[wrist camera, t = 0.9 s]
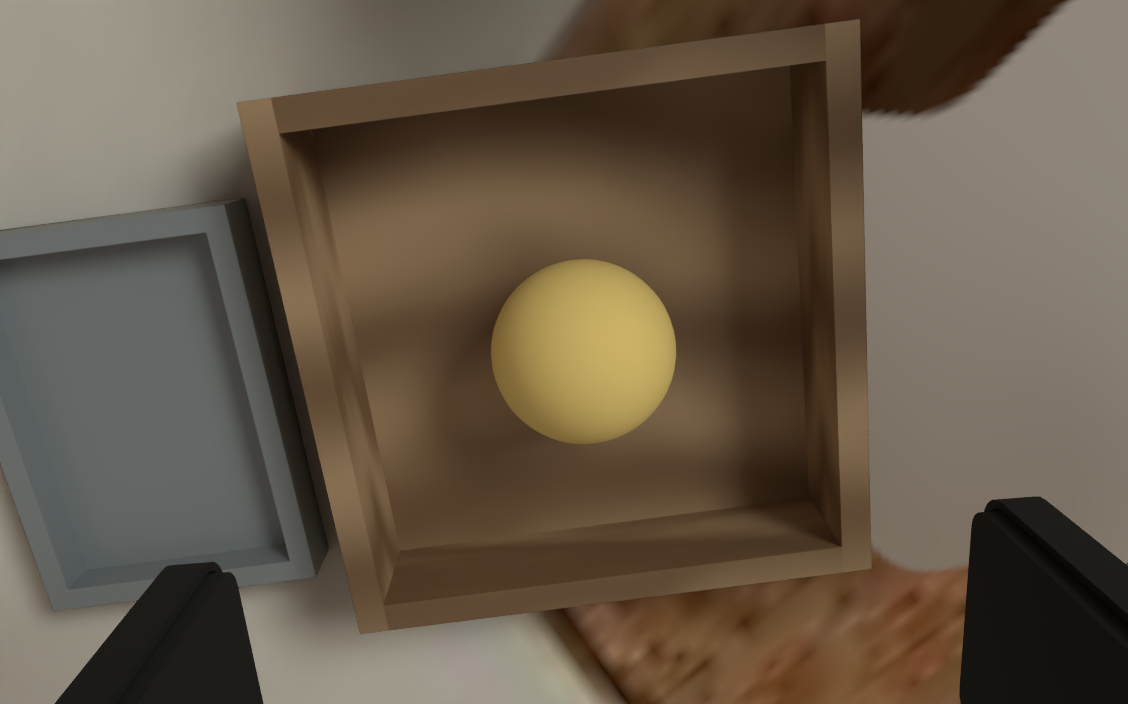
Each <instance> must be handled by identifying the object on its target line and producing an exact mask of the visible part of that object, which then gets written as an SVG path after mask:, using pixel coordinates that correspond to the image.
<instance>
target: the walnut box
mask: <svg viewBox="0 0 1128 704" xmlns="http://www.w3.org/2000/svg"><path fill="white" fill-rule="evenodd" d="M237 108H238V112H239V116H240V120H241V125H242V129H243V133H244V138H245V142H246V146H247V150H248V155H249V159H250V163H251V167H252V172H253V176H254V180H255V185H256V189H257V193H258V197H259V202H260V206H261V210H262V215H263V219H264V223H265V227H266V232H267V236H268V240H269V245H270V249H271V253H272V257H273V262H274V266H275V270H276V275H277V279H278V283H279V287H280V292H281V296H282V300H283V305H284V309H285V313H286V317H287V322H288V326H289V330H290V335H291V339H292V343H293V347H294V352H295V356H296V360H297V364H298V369H299V373H300V377H301V382H302V386H303V390H304V394H305V399H306V403H307V407H308V412H309V416H310V420H311V424H312V429H313V433H314V437H315V442H316V446H317V450H318V454H319V459H320V463H321V467H322V472H323V476H324V480H325V484H326V489H327V493H328V497H329V502H330V506H331V510H332V514H333V519H334V523H335V527H336V532H337V536H338V540H339V544H340V549H341V553H342V557H343V562H344V566H345V570H346V574H347V579H348V583H349V587H350V591H351V596H352V600H353V604H354V609H355V613H356V617H357V621H358V626H359V630H360V634H364V633H372V632H380V631H388V630H396V629H404V628H411V627H419V626H427V625H435V624H443V623H450V622H458V621H466V620H474V619H482V618H490V617H497V616H505V615H513V614H521V613H529V612H536V611H544V610H552V609H560V608H568V607H576V606H583V605H591V604H599V603H607V602H615V601H622V600H630V599H638V598H646V597H654V596H662V595H669V594H677V593H685V592H693V591H701V590H708V589H716V588H724V587H732V586H740V585H747V584H755V583H763V582H771V581H779V580H787V579H794V578H802V577H810V576H818V575H826V574H833V573H841V572H849V571H857V570H865V569H871V527H870V526H871V524H870V477H869V476H870V475H869V430H868V383H867V381H868V380H867V335H866V334H867V333H866V287H865V286H866V285H865V242H864V241H865V239H864V192H863V191H864V190H863V144H862V96H861V48H860V19H857V20H849V21H842V22H834V23H827V24H819V25H812V26H805V27H797V28H790V29H782V30H775V31H767V32H760V33H752V34H745V35H737V36H730V37H722V38H715V39H707V40H700V41H692V42H685V43H678V44H670V45H663V46H655V47H648V48H640V49H633V50H625V51H618V52H610V53H603V54H595V55H588V56H580V57H573V58H565V59H558V60H550V61H543V62H536V63H528V64H521V65H513V66H506V67H498V68H491V69H483V70H476V71H468V72H461V73H453V74H446V75H438V76H431V77H423V78H416V79H409V80H401V81H394V82H386V83H379V84H371V85H364V86H356V87H349V88H341V89H334V90H326V91H319V92H311V93H304V94H296V95H289V96H281V97H274V98H267V99H259V100H252V101H244V102H237ZM578 259H590V260H599V261H604V262H609V263H612V264H615V265H618V266H620V267H622V268H624V269H626V270H628V271H630V272H632V273H633V274H635V275H636V276H638V277H639V278H640V279H642V280H643V281H644V282H645V283H646V284H647V285H648V286H649V287H650V288H651V289H652V290H653V291H654V292H655V294H656V295H657V296H658V297H659V299H660V300H661V302H662V303H663V305H664V306H665V308H666V311H667V313H668V315H669V317H670V320H671V323H672V327H673V330H674V334H675V341H676V361H675V369H674V373H673V377H672V381H671V383H670V386H669V388H668V391H667V393H666V395H665V396H664V398H663V400H662V402H661V403H660V404H659V406H658V407H657V408H656V410H655V411H654V412H653V413H652V414H651V415H650V416H649V417H648V418H647V420H646V421H644V422H643V423H642V424H641V425H639V426H638V427H637V428H635V429H634V430H632V431H630V432H629V433H627V434H625V435H623V436H620V437H618V438H615V439H612V440H609V441H606V442H601V443H595V444H572V443H567V442H561V441H558V440H555V439H552V438H549V437H547V436H545V435H543V434H541V433H539V432H537V431H536V430H534V429H532V428H531V427H529V426H528V425H527V424H526V423H524V422H523V421H522V420H521V419H520V418H519V417H518V416H517V415H516V414H515V413H514V412H513V411H512V410H511V408H510V407H509V405H508V404H507V403H506V401H505V399H504V397H503V396H502V394H501V392H500V390H499V388H498V385H497V382H496V380H495V377H494V372H493V368H492V358H491V344H492V336H493V331H494V327H495V324H496V321H497V318H498V316H499V314H500V312H501V309H502V307H503V305H504V304H505V302H506V301H507V299H508V298H509V296H510V295H511V294H512V292H513V291H514V290H515V289H516V288H517V287H518V286H519V285H520V284H521V283H522V282H523V281H525V280H526V279H527V278H528V277H530V276H531V275H533V274H534V273H536V272H537V271H539V270H541V269H543V268H545V267H547V266H550V265H553V264H556V263H559V262H564V261H569V260H578Z"/></svg>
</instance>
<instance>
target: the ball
mask: <svg viewBox="0 0 1128 704" xmlns="http://www.w3.org/2000/svg"><path fill="white" fill-rule="evenodd" d="M491 358H492V368H493V372H494V377H495V380H496V382H497V385H498V388H499V390H500V392H501V394H502V396H503V397H504V399H505V401H506V403H507V404H508V405H509V407H510V408H511V410H512V411H513V412H514V413H515V414H516V415H517V416H518V417H519V418H520V419H521V420H522V421H523V422H524V423H526V424H527V425H528V426H529V427H531V428H532V429H534V430H536V431H537V432H539V433H541V434H543V435H545V436H547V437H549V438H552V439H555V440H558V441H561V442H567V443H572V444H595V443H601V442H606V441H609V440H612V439H615V438H618V437H620V436H623V435H625V434H627V433H629V432H630V431H632V430H634V429H635V428H637V427H638V426H639V425H641V424H642V423H643V422H644V421H646V420H647V418H648V417H649V416H650V415H651V414H652V413H653V412H654V411H655V410H656V408H657V407H658V406H659V404H660V403H661V402H662V400H663V398H664V396H665V395H666V393H667V391H668V388H669V386H670V383H671V381H672V377H673V373H674V369H675V361H676V341H675V334H674V330H673V327H672V323H671V320H670V317H669V315H668V313H667V311H666V308H665V306H664V305H663V303H662V302H661V300H660V299H659V297H658V296H657V295H656V294H655V292H654V291H653V290H652V289H651V288H650V287H649V286H648V285H647V284H646V283H645V282H644V281H643V280H642V279H640V278H639V277H638V276H636V275H635V274H633V273H632V272H630V271H628V270H626V269H624V268H622V267H620V266H618V265H615V264H612V263H609V262H604V261H599V260H590V259H578V260H569V261H564V262H559V263H556V264H553V265H550V266H547V267H545V268H543V269H541V270H539V271H537V272H536V273H534V274H533V275H531V276H530V277H528V278H527V279H526V280H525V281H523V282H522V283H521V284H520V285H519V286H518V287H517V288H516V289H515V290H514V291H513V292H512V294H511V295H510V296H509V298H508V299H507V301H506V302H505V304H504V305H503V307H502V309H501V312H500V314H499V316H498V318H497V321H496V324H495V327H494V331H493V336H492V344H491Z"/></svg>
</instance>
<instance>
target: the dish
mask: <svg viewBox="0 0 1128 704" xmlns="http://www.w3.org/2000/svg"><path fill="white" fill-rule="evenodd" d="M0 463H1V466H2V469H3V472H4V475H5V477H6V480H7V483H8V486H9V489H10V491H11V494H12V497H13V500H14V503H15V505H16V508H17V511H18V514H19V517H20V519H21V522H22V525H23V528H24V531H25V533H26V536H27V539H28V542H29V545H30V547H31V550H32V553H33V556H34V559H35V561H36V564H37V567H38V570H39V573H40V575H41V578H42V581H43V584H44V587H45V589H46V592H47V595H48V598H49V601H50V603H51V606H52V609H53V611H57V610H65V609H73V608H81V607H88V606H96V605H104V604H112V603H120V602H127V601H135V600H138V599H139V598H140V597H141V596H142V594H143V593H144V592H145V591H146V590H147V588H148V587H149V586H150V585H151V583H152V582H153V581H154V580H155V578H156V577H157V576H158V575H159V573H160V572H161V571H162V570H163V569H164V568H165V567H166V566H169V565H178V564H191V563H204V562H215V563H217V564H218V565H219V566H220V568H221V569H222V572H231V573H232V574H233V575H234V576H235V578H236V581H237V584H238V587H244V586H252V585H260V584H267V583H275V582H283V581H291V580H298V579H306V578H314V577H316V576H317V574H318V572H319V569H320V567H321V565H322V563H323V561H324V558H325V556H326V554H327V552H328V545H327V541H326V537H325V533H324V529H323V524H322V520H321V516H320V512H319V508H318V503H317V499H316V495H315V491H314V487H313V482H312V478H311V474H310V470H309V466H308V461H307V457H306V453H305V449H304V445H303V440H302V436H301V432H300V428H299V424H298V419H297V415H296V411H295V407H294V403H293V398H292V394H291V390H290V386H289V382H288V378H287V373H286V369H285V365H284V361H283V357H282V352H281V348H280V344H279V340H278V336H277V331H276V327H275V323H274V319H273V315H272V310H271V306H270V302H269V298H268V294H267V289H266V285H265V281H264V277H263V273H262V268H261V264H260V260H259V256H258V252H257V247H256V243H255V239H254V235H253V231H252V226H251V222H250V218H249V214H248V210H247V206H246V201H245V198H238V199H231V200H223V201H216V202H208V203H201V204H193V205H185V206H178V207H170V208H163V209H155V210H148V211H140V212H133V213H125V214H118V215H110V216H103V217H95V218H88V219H80V220H73V221H65V222H57V223H50V224H42V225H35V226H27V227H20V228H12V229H5V230H0Z"/></svg>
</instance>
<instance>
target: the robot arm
mask: <svg viewBox="0 0 1128 704" xmlns="http://www.w3.org/2000/svg"><path fill="white" fill-rule="evenodd" d="M970 542H971V543H970V556H969V568H968V582H967V595H966V609H965V622H964V636H963V650H962V663H961V677H960V701H961V704H1128V563H1127V564H1125V563H1123V562H1122V561H1121V560H1120V559H1118V558H1117V557H1116V556H1115V555H1113V554H1112V553H1111V552H1110V551H1108V550H1107V549H1106V548H1105V547H1103V546H1102V545H1101V544H1100V543H1099V542H1097V541H1096V540H1095V539H1094V538H1092V537H1091V536H1090V535H1089V534H1087V533H1086V532H1085V531H1084V530H1082V529H1081V528H1080V527H1079V526H1077V525H1076V524H1075V523H1074V522H1072V521H1071V520H1070V519H1069V518H1067V517H1066V516H1065V515H1063V514H1062V513H1061V512H1060V511H1059V510H1057V509H1056V508H1055V507H1054V506H1053V505H1051V504H1050V503H1049V502H1047V501H1046V500H1045V499H1043V498H1041V497H1024V498H1011V499H998V500H991V501H990V502H989V503H988V504H987V506H986V508H985V510H984V512H980V513H977V514H976V515H975V516H974V518H973V521H972V528H971V541H970ZM55 704H263V700H262V695H261V691H260V686H259V681H258V677H257V672H256V668H255V663H254V658H253V654H252V649H251V644H250V640H249V635H248V631H247V626H246V621H245V617H244V612H243V607H242V603H241V598H240V594H239V589H238V584H237V581H236V578H235V576H234V575H233V574H232V573H231V572H222V569H221V568H220V566H219V565H218V564H217V563H215V562H204V563H191V564H178V565H169V566H166V567H165V568H164V569H163V570H162V571H161V572H160V573H159V575H158V576H157V577H156V578H155V580H154V581H153V582H152V583H151V585H150V586H149V587H148V588H147V590H146V591H145V592H144V593H143V594H142V596H141V597H140V598H139V599H138V601H137V602H136V603H135V604H134V606H133V607H132V608H131V609H130V611H129V612H128V613H127V614H126V616H125V617H124V618H123V619H122V621H121V622H120V623H119V624H118V626H117V627H116V628H115V629H114V631H113V632H112V633H111V634H110V635H109V637H108V638H107V639H106V640H105V642H104V643H103V644H102V645H101V647H100V648H99V649H98V650H97V652H96V653H95V654H94V655H93V657H92V658H91V659H90V660H89V662H88V663H87V664H86V665H85V667H84V668H83V669H82V670H81V672H80V673H79V674H78V675H77V676H76V678H75V679H74V680H73V681H72V683H71V684H70V685H69V686H68V688H67V689H66V690H65V691H64V693H63V694H62V695H61V696H60V698H59V699H58V700H57V701H56V703H55Z"/></svg>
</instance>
